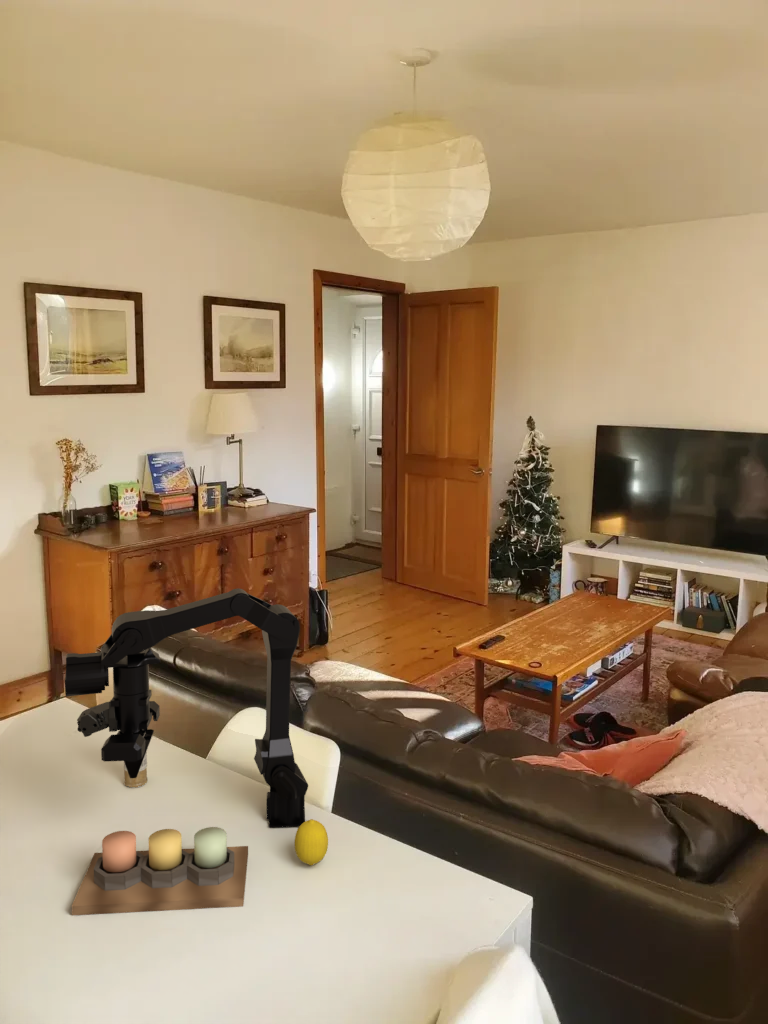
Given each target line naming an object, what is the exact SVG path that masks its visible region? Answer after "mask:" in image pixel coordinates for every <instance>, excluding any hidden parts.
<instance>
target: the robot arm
mask: <svg viewBox="0 0 768 1024" xmlns="http://www.w3.org/2000/svg"><path fill="white" fill-rule="evenodd" d="M234 617H240V618H242V619H244V620H245V621H247V622H249V623H250V624H252V625H254V626H255V627H256V628H258V629H260V630H261V634H262V639H263V643H264V647H265V653H266V659H267V661H266V663H267V664H266V665H267V666H266V704H265V706H266V707H265V708H266V709H265V731H264V734H263V736H262V738H261V739H260V738H255V739H254V744H255V754H254V757H253V760H254V763H255V765H256V767H257V769H258V771H259V774H260V775H261V776H262V777H263V779H264V781H265V783H266V784H267V785H268V787H269V791H267V792H266V820H267V821H268V827H269V828H270V829H271V828H273V829H275V828H278V829H279V828H299V826H300V825H301V824H302V823H304V822H305V821H306V811H305V810H306V808H305V797H306V794H307V791H308V789H309V784H308V781H307V780H306V777H304V774H303V772H302V770H301V769H300V767H299V765H298V764H297V763H296V762H295V761H296V760H295V755H294V752H293V747H292V742H291V738H290V717H291V716H290V715H291V714H290V710H291V706H290V705H291V680H292V679H291V675H292V673H291V672H292V671H291V670H292V669H291V667H292V659H293V656H294V654H295V652H296V649H297V647H298V641H299V636H300V632H301V631H300V630H301V625H300V622H299V620H298V618H297V617H296V616H295V615H294V613H292V612H291V610H290V609H289V608H288V607H287V606H285V605H283V604H279V603H278V604H271V603H268V602H267V601H265V600H263V599H261V598H259V597H257V596H255V595H252V594H250V593H248V592H247V591H246V590H244V589H242V588H234V589H231V590H230V591H228V592H227V591H226V592H224V593H221V594H216V595H214V596H210V597H206V598H203V599H199V600H196V601H193V602H192V601H191V602H188V603H185V604H182V605H179V606H175V607H171V608H167V609H162V610H145V609H144V610H137V611H130V612H129V611H128V612H124V613H122V614H120V615H119V616H117V617H116V618H115V620H113V621H114V622H113V624H112V626H111V634H110V635H109V637H108V638H107V639H106V641H105V642H104V643H103V645H102V646H101V647H100V652H99V651H98V652H88V653H76V652H75V653H74V652H72V653H66V654H65V655H66V656H65V674H64V675H65V676H64V692H65V697H66V698H67V697H76V696H87V695H96V694H98V695H99V694H102V693H103V691H106V687H109V686H110V681H109V680H110V679H109V677H110V675H109V674H110V673H109V668H110V669H111V668H112V681H113V682H112V686H113V687H112V688H113V697H112V698H111V699H110V700H109V701H105V702H103V703H100V704H97V705H95V706H91V707H89V708H86V709H85V710H83V711H82V712H81V713H80V714H79V716H78V718H77V719H76V721H77V722H76V724H77V731H78V732H80V733H81V734H82V736H84V737H85V738H86V737H87V738H88V737H90V736H92V734H95V733H97V732H100V731H103V730H106V729H108V732H112V733H113V732H117V733H116V734H111V735H110V736H109V737H108V738H106V740H105V741H104V743H103V745H102V746H101V750H100V751H101V755H100V756H101V761H103V763H105V762H123V763H124V762H125V765H126V768H127V771H128V774H129V777H130V778H137V775H138V773H139V770H140V767H141V765H142V762H143V759H144V756H145V754H146V751H147V752H148V749H149V746H150V742H151V740H152V738H153V735H154V732H155V730H154V729H150V728H149V727H150V724H151V721H152V719H153V721H154V722H158V720H159V718H160V716H161V715H160V714H161V711H160V705H159V704H158V703H157V702H156V701H155V700H150V699H151V697H152V692H153V691H152V689H150V671H149V669H150V667H149V665H157V664H160V663H161V658H160V654H159V653H158V652H156V651H155V650H154V649H153V647H154V646H156V645H158V644H159V643H160V642H162V641H163V640H165V639H166V638H168V637H171V636H173V635H176V634H179V633H183V632H186V631H190V630H193V629H196V628H197V629H198V628H200V627H202V626H203V627H204V626H207V625H210V624H215V623H217V622H220V621H224V620H227V619H231V618H234Z"/></svg>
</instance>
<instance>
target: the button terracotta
mask: <svg viewBox="0 0 768 1024" xmlns="http://www.w3.org/2000/svg"><path fill="white" fill-rule="evenodd" d="M101 845H102V846H101V847H102V851H101V852H102V854H103V868H104V870H106V871H108V872H113V873H117V872H123V871H126V870H128V869H130V868H132V867H133V866H134V865H135V864H136V851H137V835H136V834H135V833H134V832H132V831H129V830H118V831H113V832H111V833H109V834H107V835H105V836H104V837H103V839H102V840H101Z"/></svg>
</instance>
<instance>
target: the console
mask: <svg viewBox="0 0 768 1024" xmlns="http://www.w3.org/2000/svg"><path fill="white" fill-rule="evenodd" d="M248 860H249V845H240V846H239V845H238V846H227V859H226V861H225V862H224V863H223V864H222V865H220V866H217V867H214V868H202V867H199V866H197V865H196V864H195V856H194V847H192V848H182V861H181V863H180V864H179V865H178V866H176V867H174V868H172V869H169V870H155V869H153V868H151V867H150V865H149V849H147V850H136V864H135V865H134V866H133V867H132V868H130V869H128V870H126V871H123V872H117V873H113V872H108V871H106V870H104V868H103V854H102V851H101V852H94V853H93V855H92V859H91V860H90V862H89V865H88V867H87V870H86V872H85V874H84V877H83V879H82V882H81V883H80V885H79V888H78V891H77V893H76V895H75V897H74V900H73V902H72V904H71V916H87V915H88V916H89V915H104V914H108V915H109V914H123V913H125V914H127V913H140V912H145V913H146V912H158V911H159V912H160V911H179V910H199V909H201V910H202V909H219V908H236V907H238V908H239V907H244V904H245V892H246V882H247V881H246V879H247V872H248V871H247V870H248V862H249V861H248Z"/></svg>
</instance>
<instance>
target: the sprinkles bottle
mask: <svg viewBox="0 0 768 1024" xmlns="http://www.w3.org/2000/svg"><path fill="white" fill-rule="evenodd" d="M147 753H148V750H147V751H146V754H145V756H144V759H143V762H142V765H141V767H140V770H139V773H138V775H137V778H130V777H129V774H128V771H127V768H126V765H125V762H124V761H123V771H124V772H123V773H124V777H123V778H124V781H123V784H125V785H124V786H125V787H127V786H129V787H128V788H131V787H135V788H139V787H138V786H141V787H143V786H145V785H146V784H147V782H148V777H147V776H148V774H147V773H148V771H147V767H148V755H147ZM145 783H146V784H145ZM142 785H143V786H142Z"/></svg>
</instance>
